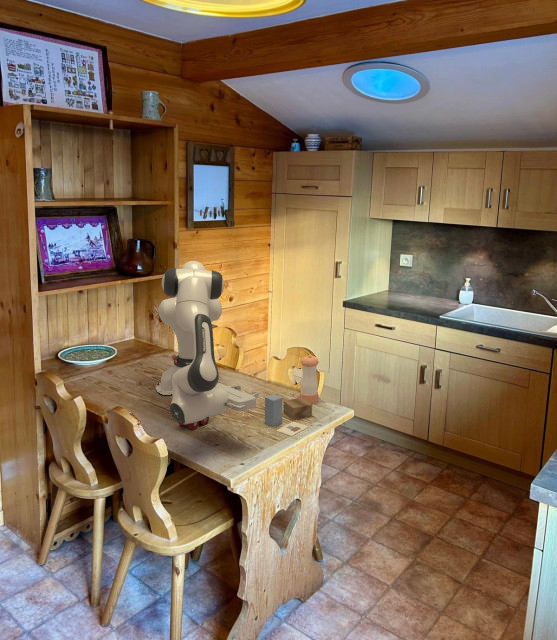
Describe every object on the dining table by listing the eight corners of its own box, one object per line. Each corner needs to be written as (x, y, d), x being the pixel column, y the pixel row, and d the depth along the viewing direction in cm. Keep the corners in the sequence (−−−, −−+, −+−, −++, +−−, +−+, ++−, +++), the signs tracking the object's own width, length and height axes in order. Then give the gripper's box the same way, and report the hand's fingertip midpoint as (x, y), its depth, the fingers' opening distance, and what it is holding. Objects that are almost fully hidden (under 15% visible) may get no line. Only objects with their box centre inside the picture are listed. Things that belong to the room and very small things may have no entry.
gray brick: (273, 426, 219) (273, 400, 217) (264, 422, 223) (264, 397, 220) (282, 423, 222) (282, 397, 220) (273, 419, 226) (274, 394, 223)
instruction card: (291, 436, 212) (291, 435, 211) (276, 431, 216) (276, 430, 216) (308, 427, 219) (308, 426, 219) (293, 422, 223) (293, 421, 223)
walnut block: (292, 420, 225) (292, 408, 224) (283, 412, 232) (283, 400, 231) (311, 417, 228) (312, 404, 227) (302, 409, 235) (302, 397, 234)
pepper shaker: (320, 398, 246) (321, 353, 241) (314, 405, 239) (315, 358, 235) (303, 396, 249) (304, 351, 244) (297, 402, 242) (297, 356, 237)
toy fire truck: (212, 421, 224) (212, 395, 221) (188, 432, 214) (187, 405, 211) (199, 417, 228) (198, 390, 225) (174, 427, 218) (173, 400, 215)
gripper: (236, 400, 193) (268, 390, 202) (198, 384, 207) (229, 375, 217) (236, 419, 194) (268, 408, 204) (198, 402, 209) (230, 392, 218)
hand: (248, 391), depth 210 cm, fingers open, 8 cm apart
